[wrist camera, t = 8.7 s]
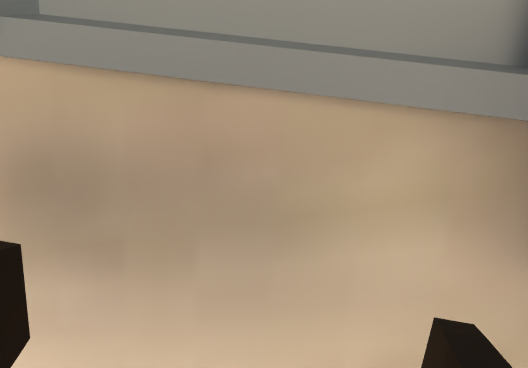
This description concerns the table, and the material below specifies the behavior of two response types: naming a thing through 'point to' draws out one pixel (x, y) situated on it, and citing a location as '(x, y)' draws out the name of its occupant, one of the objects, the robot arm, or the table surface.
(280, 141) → the table surface
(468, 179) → the table surface
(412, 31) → the caddy
